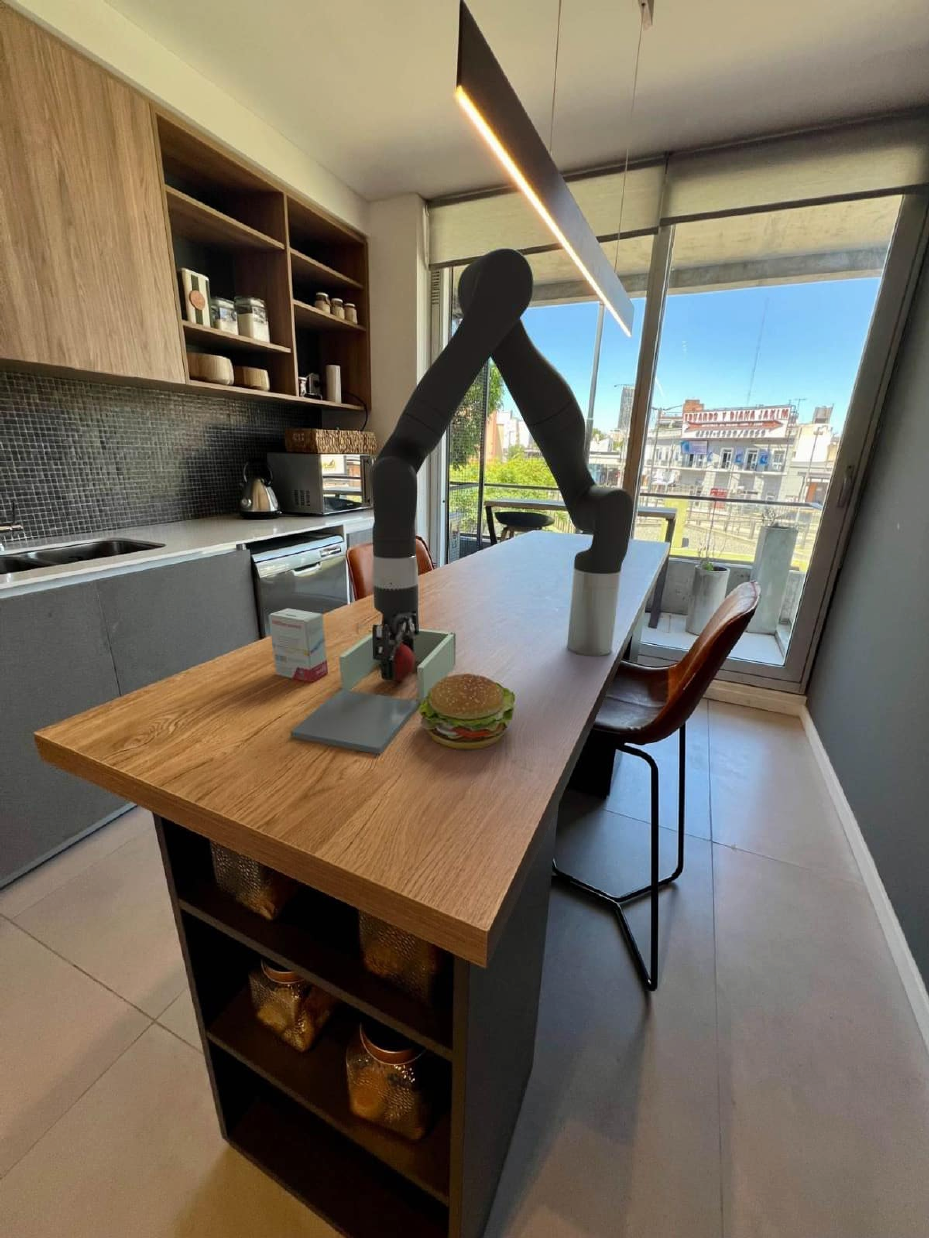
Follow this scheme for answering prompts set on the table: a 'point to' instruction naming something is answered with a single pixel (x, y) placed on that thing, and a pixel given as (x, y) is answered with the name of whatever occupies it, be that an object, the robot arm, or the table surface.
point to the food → (467, 711)
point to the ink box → (298, 644)
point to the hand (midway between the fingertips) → (398, 669)
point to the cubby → (428, 649)
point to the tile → (356, 721)
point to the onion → (403, 661)
